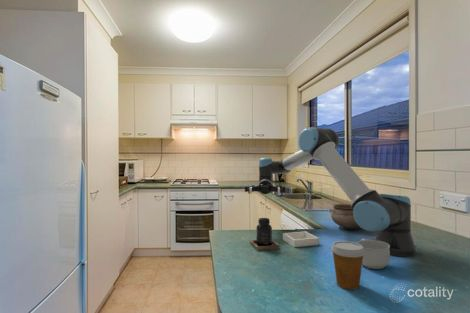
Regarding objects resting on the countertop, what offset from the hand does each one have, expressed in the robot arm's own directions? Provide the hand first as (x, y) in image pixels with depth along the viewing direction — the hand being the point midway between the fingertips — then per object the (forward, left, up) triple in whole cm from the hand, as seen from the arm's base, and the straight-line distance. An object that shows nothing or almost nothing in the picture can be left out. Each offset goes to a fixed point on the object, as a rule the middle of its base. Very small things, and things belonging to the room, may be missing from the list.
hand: (264, 191), depth 132 cm
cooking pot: (+7, -52, -23) cm, 57 cm away
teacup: (-39, -26, -23) cm, 52 cm away
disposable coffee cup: (-51, -7, -23) cm, 56 cm away
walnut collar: (-9, +4, -23) cm, 25 cm away
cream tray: (-8, -14, -23) cm, 28 cm away
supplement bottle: (-9, +4, -23) cm, 25 cm away
